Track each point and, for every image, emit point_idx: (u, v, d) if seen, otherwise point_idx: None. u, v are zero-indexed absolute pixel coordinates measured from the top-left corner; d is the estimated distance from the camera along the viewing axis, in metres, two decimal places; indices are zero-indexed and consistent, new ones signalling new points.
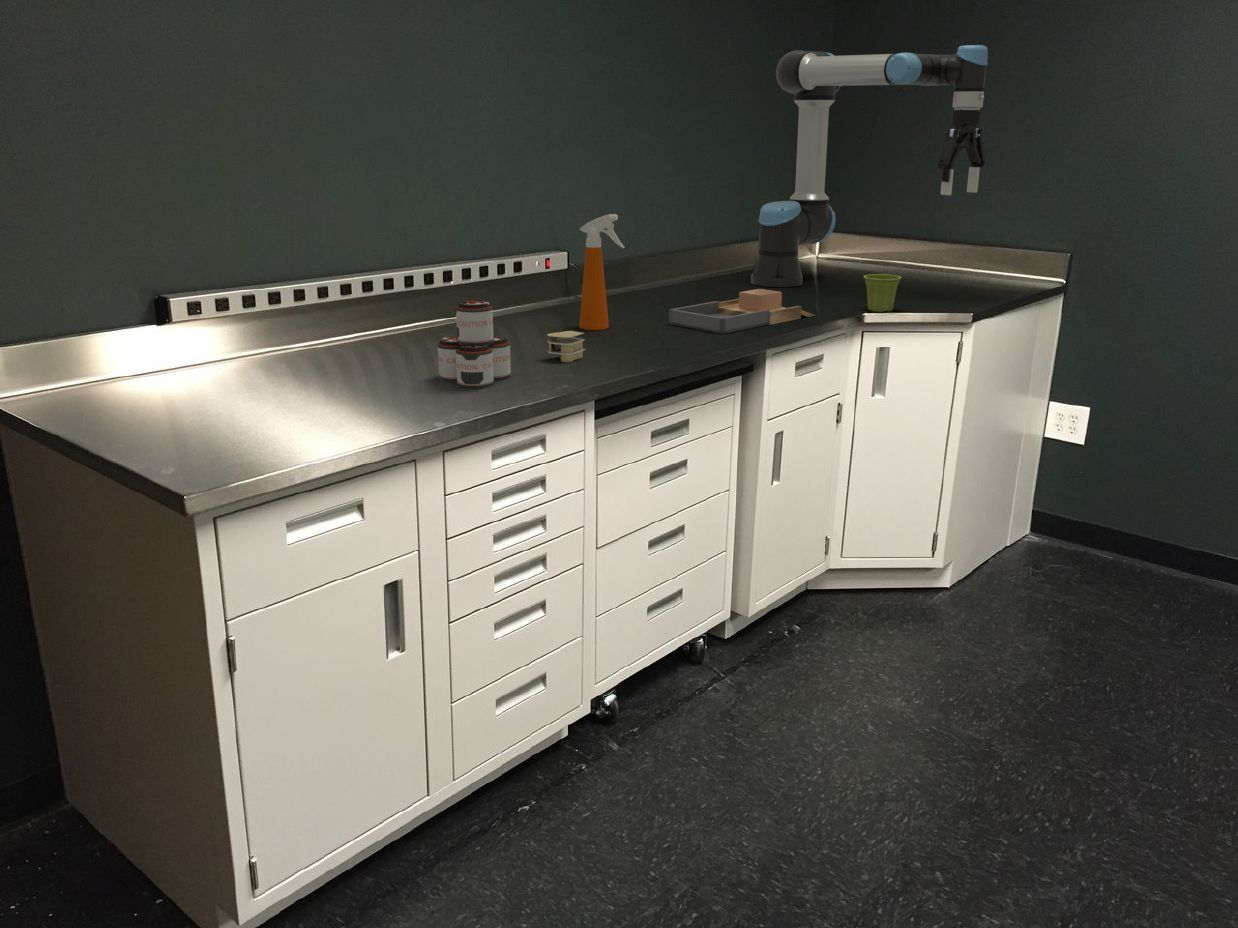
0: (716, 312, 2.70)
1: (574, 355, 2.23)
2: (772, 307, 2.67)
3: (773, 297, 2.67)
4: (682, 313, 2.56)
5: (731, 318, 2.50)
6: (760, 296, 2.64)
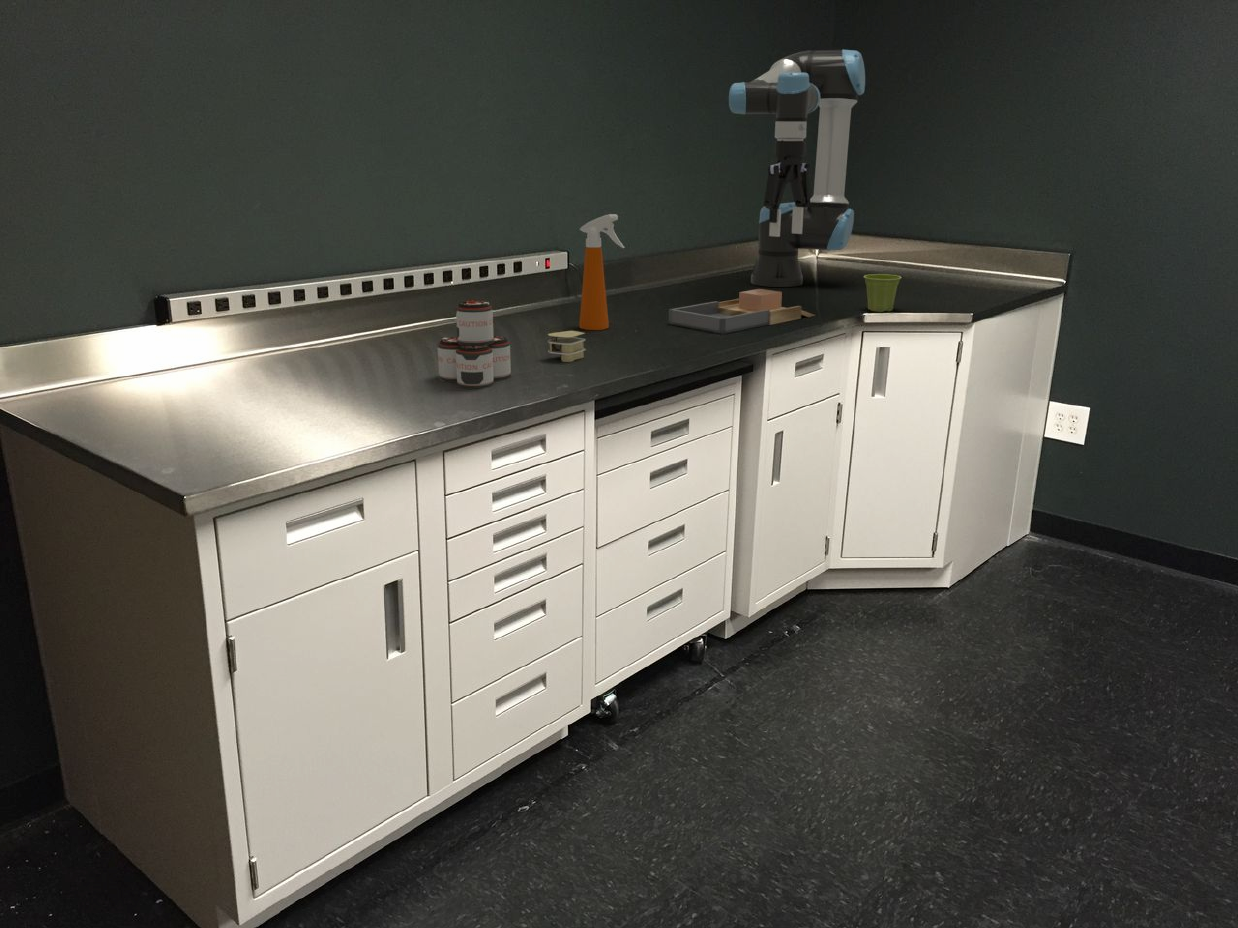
0: (716, 312, 2.70)
1: (575, 355, 2.23)
2: (772, 307, 2.67)
3: (773, 297, 2.67)
4: (682, 313, 2.56)
5: (731, 318, 2.50)
6: (760, 296, 2.64)
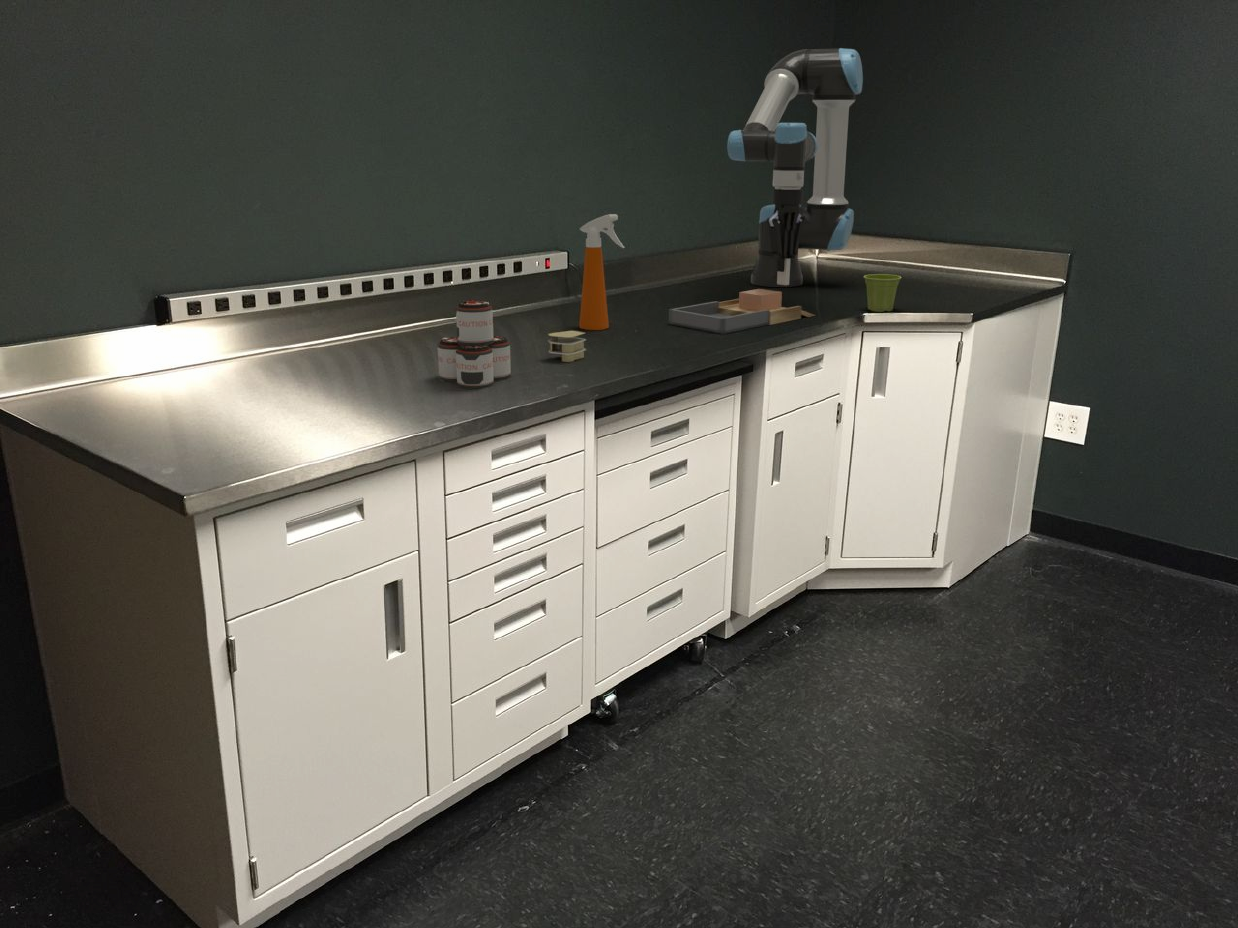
0: (716, 312, 2.70)
1: (575, 355, 2.23)
2: (772, 307, 2.67)
3: (773, 297, 2.67)
4: (682, 313, 2.56)
5: (731, 318, 2.50)
6: (760, 296, 2.64)
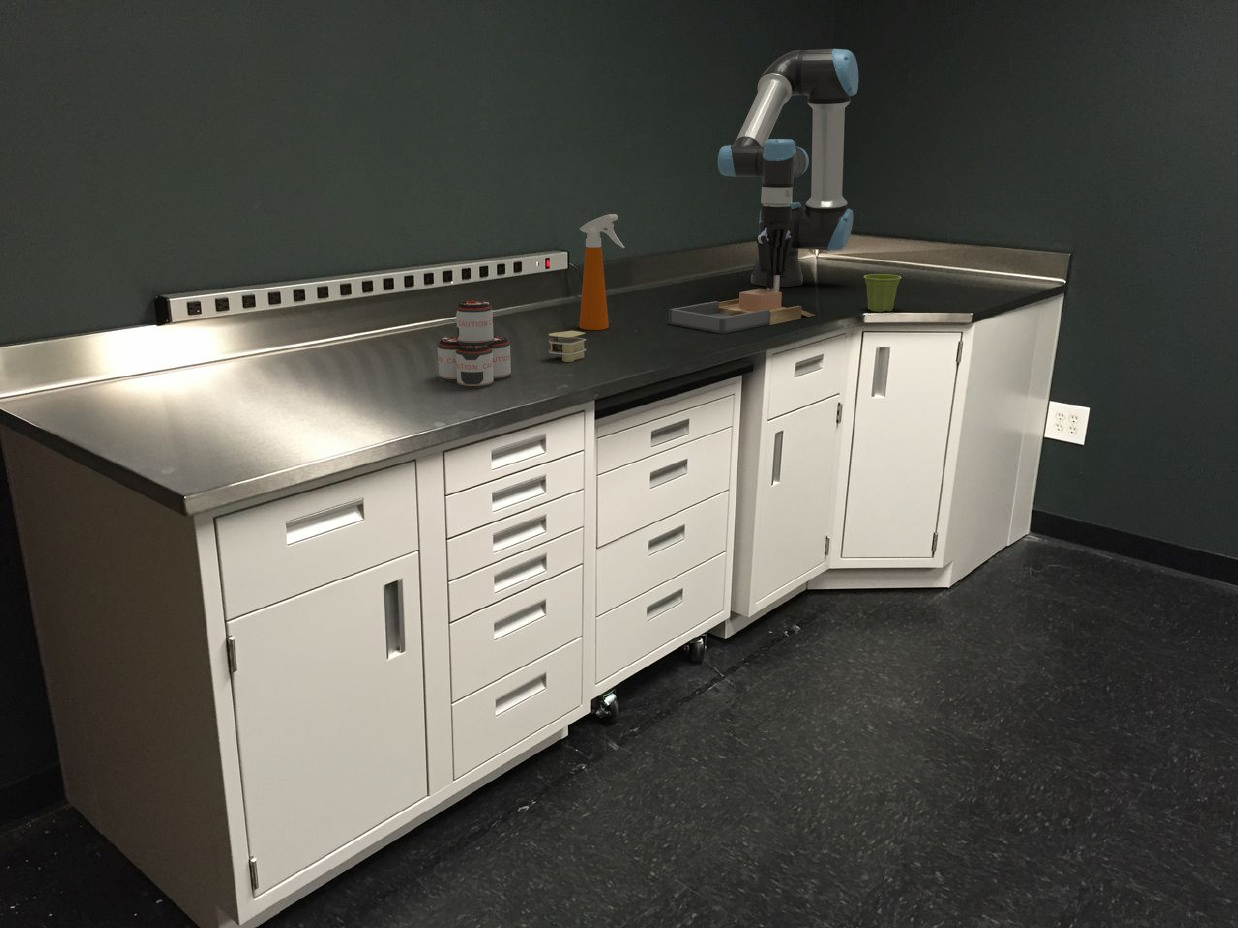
0: (716, 312, 2.70)
1: (575, 355, 2.23)
2: (772, 307, 2.67)
3: (773, 297, 2.67)
4: (682, 313, 2.56)
5: (731, 318, 2.50)
6: (760, 296, 2.64)
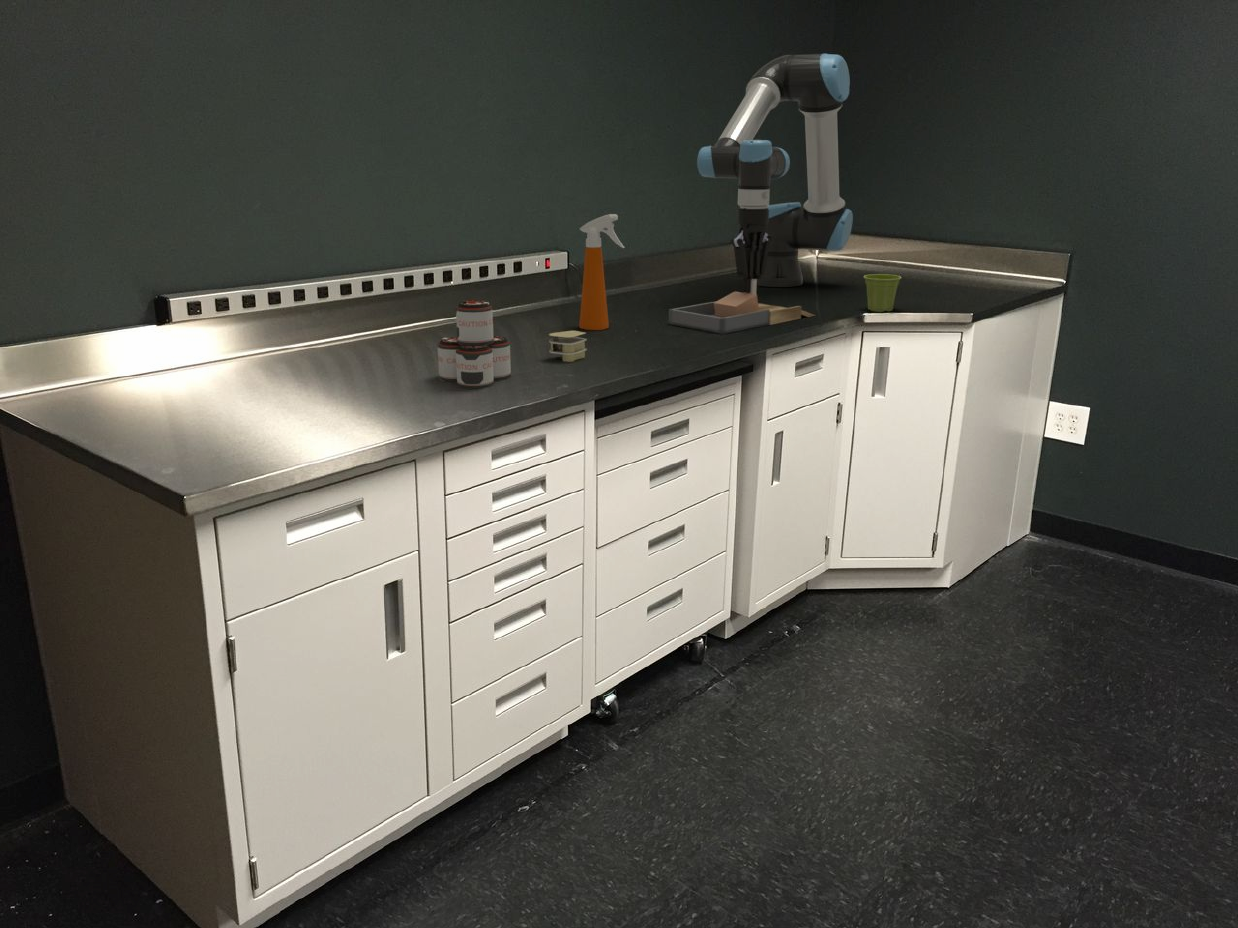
0: None
1: (576, 355, 2.23)
2: None
3: (748, 303, 2.61)
4: (682, 313, 2.56)
5: (731, 318, 2.50)
6: (734, 307, 2.58)
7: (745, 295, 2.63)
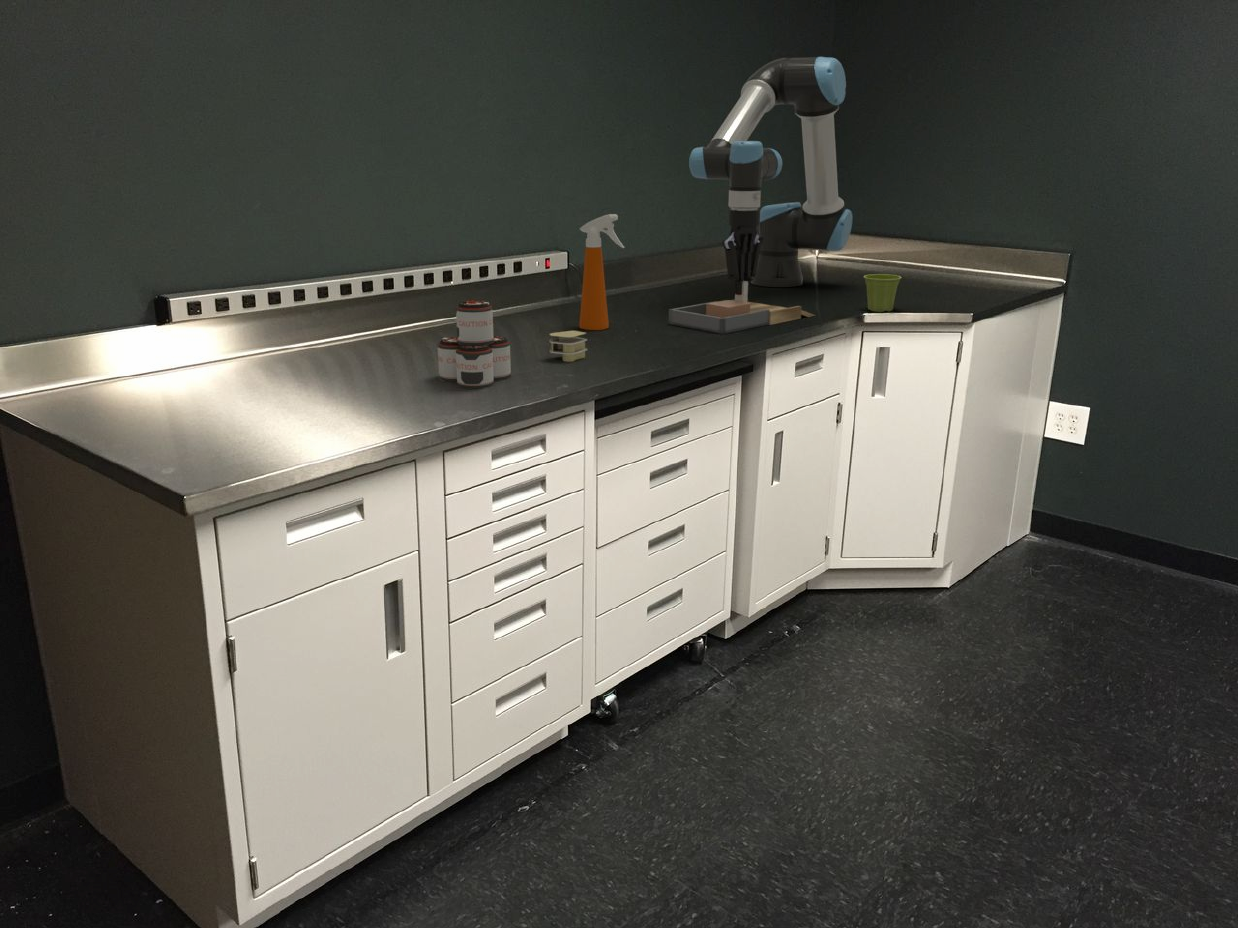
0: None
1: (576, 355, 2.23)
2: None
3: (741, 309, 2.59)
4: (682, 313, 2.56)
5: (731, 318, 2.50)
6: (727, 308, 2.56)
7: (738, 302, 2.62)
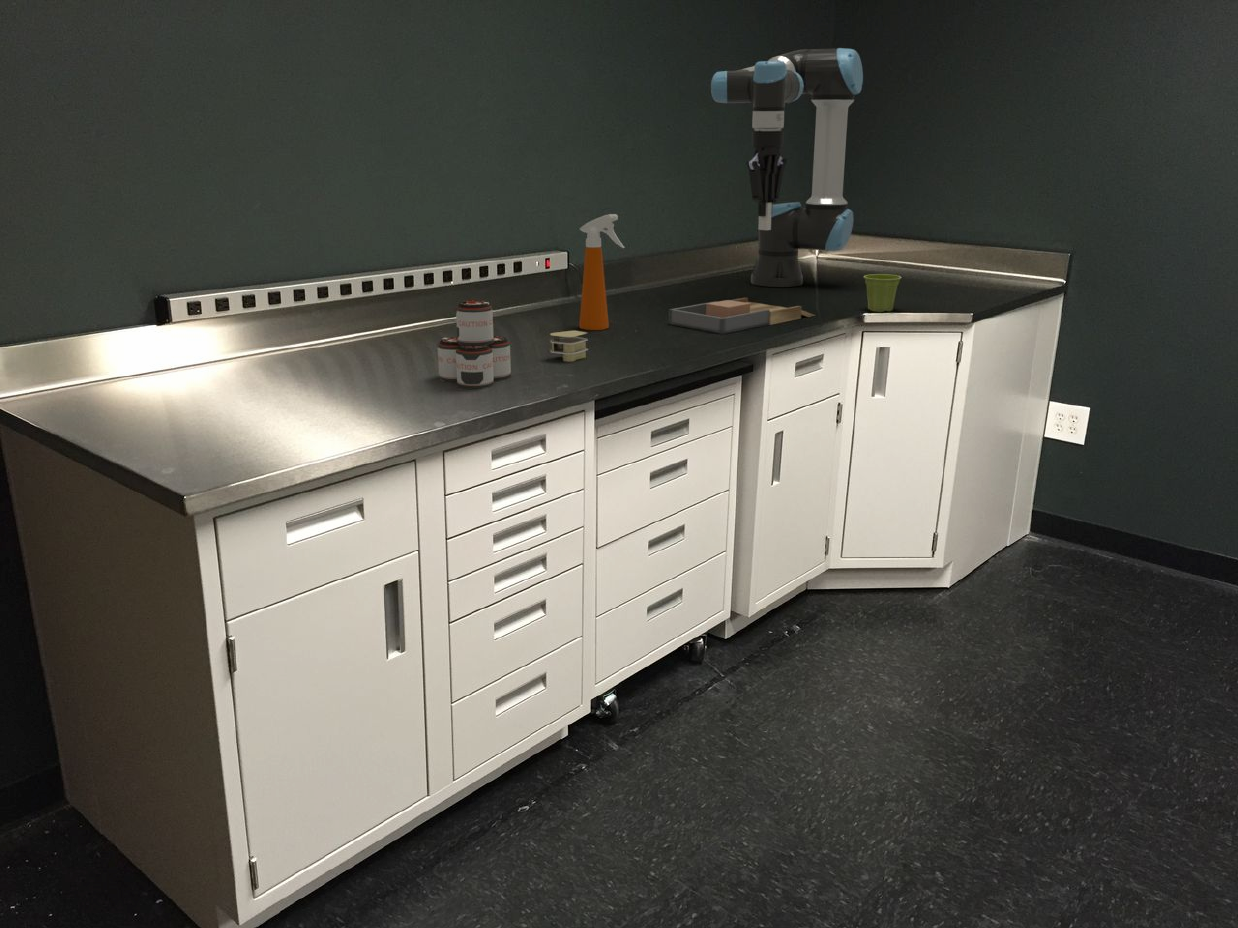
0: None
1: (577, 355, 2.23)
2: None
3: (741, 309, 2.59)
4: (682, 313, 2.56)
5: (731, 318, 2.50)
6: (727, 308, 2.56)
7: (738, 302, 2.62)
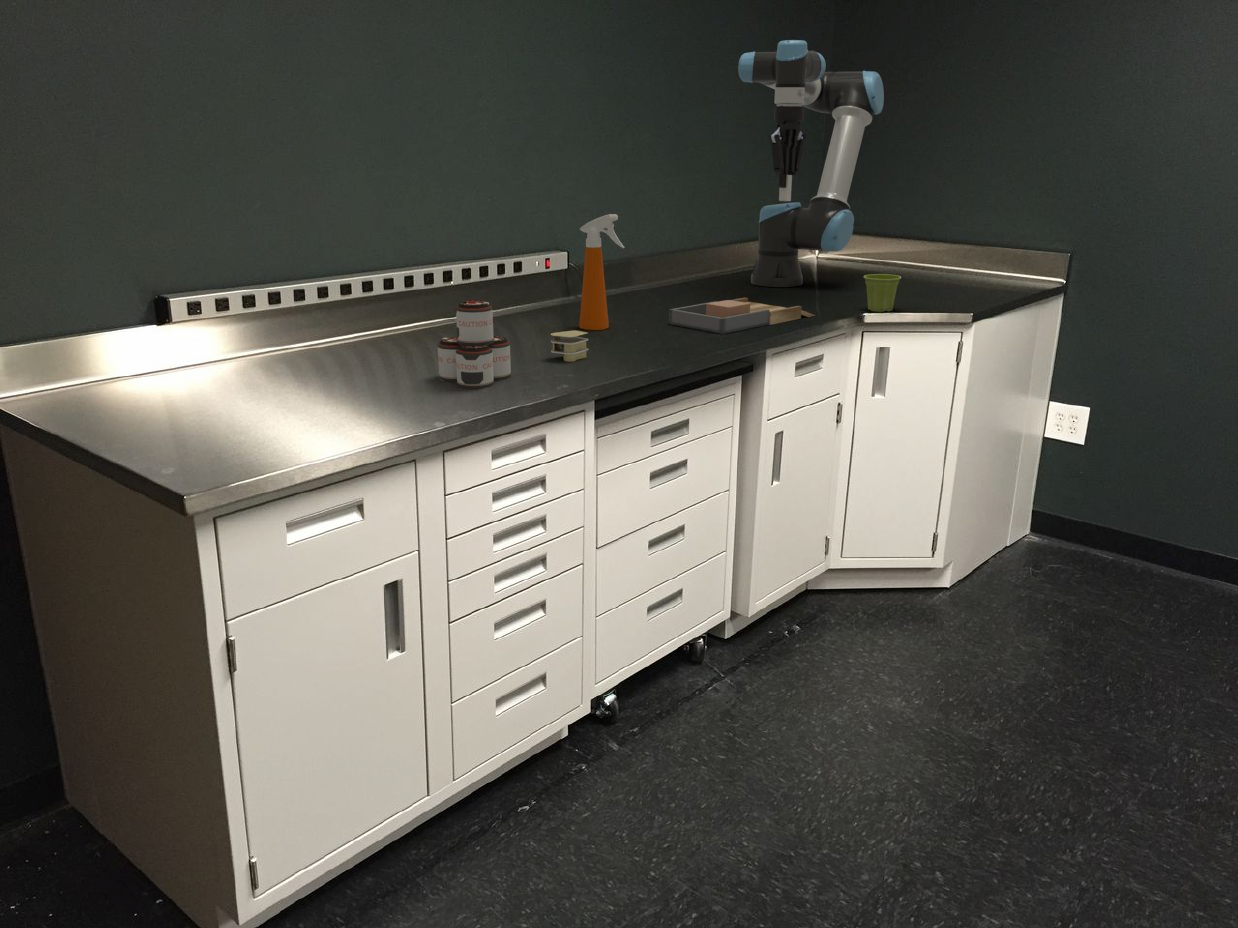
0: None
1: (577, 355, 2.23)
2: None
3: (741, 309, 2.59)
4: (682, 313, 2.56)
5: (731, 318, 2.50)
6: (727, 308, 2.56)
7: (738, 302, 2.62)
